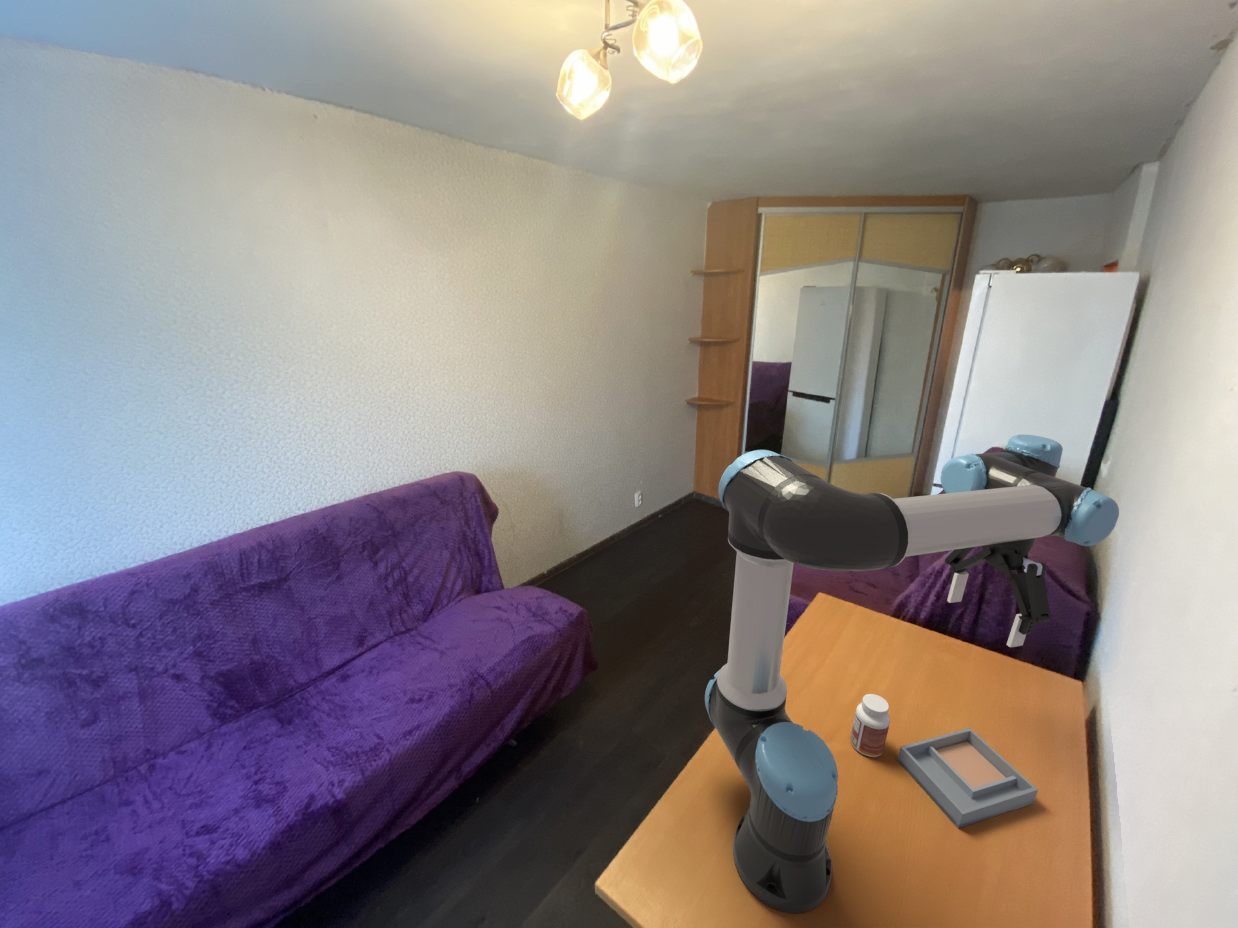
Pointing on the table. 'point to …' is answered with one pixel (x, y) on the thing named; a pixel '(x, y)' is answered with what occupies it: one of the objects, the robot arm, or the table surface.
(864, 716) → the pill bottle
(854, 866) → the table surface
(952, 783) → the walled box
